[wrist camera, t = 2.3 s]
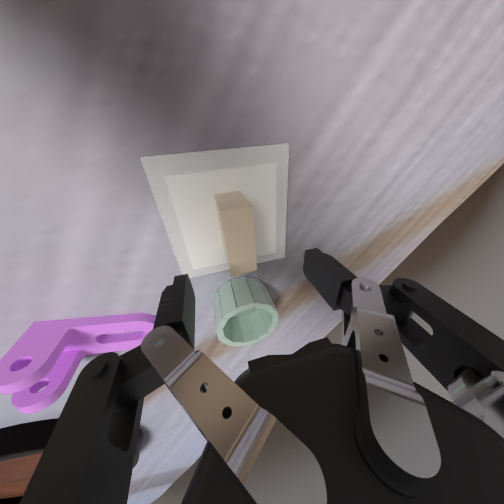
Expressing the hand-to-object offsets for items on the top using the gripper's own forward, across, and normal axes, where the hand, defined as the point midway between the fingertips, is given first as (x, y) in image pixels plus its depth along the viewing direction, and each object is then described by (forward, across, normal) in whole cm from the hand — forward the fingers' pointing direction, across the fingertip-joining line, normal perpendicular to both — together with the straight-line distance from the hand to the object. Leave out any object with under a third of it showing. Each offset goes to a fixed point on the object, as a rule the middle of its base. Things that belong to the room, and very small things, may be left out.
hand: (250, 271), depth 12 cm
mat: (+10, 0, -1) cm, 10 cm away
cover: (+9, 0, -1) cm, 9 cm away
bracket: (+10, +18, +12) cm, 24 cm away
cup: (+10, 0, +12) cm, 16 cm away
